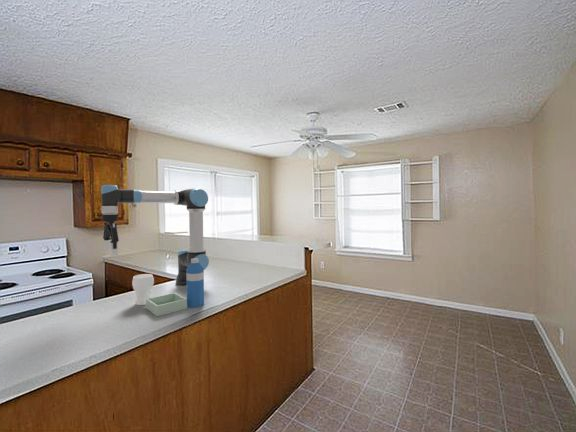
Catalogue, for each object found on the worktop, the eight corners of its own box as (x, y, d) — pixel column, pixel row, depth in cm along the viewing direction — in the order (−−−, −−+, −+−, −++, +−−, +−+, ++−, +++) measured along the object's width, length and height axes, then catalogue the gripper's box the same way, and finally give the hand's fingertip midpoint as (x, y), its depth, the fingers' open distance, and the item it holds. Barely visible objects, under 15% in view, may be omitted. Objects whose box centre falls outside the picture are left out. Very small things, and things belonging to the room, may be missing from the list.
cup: (143, 307, 153) (143, 279, 152) (128, 304, 156) (127, 277, 156) (158, 300, 163) (158, 274, 162) (143, 298, 166) (143, 273, 166)
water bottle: (199, 300, 164) (198, 256, 163) (207, 304, 157) (207, 258, 156) (183, 304, 157) (182, 258, 156) (191, 308, 150) (190, 261, 149)
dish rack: (174, 301, 162) (174, 292, 162) (187, 308, 151) (186, 298, 151) (146, 308, 151) (145, 298, 151) (157, 316, 140) (157, 306, 140)
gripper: (96, 213, 161) (97, 251, 161) (108, 214, 143) (109, 257, 144) (111, 213, 166) (112, 250, 167) (124, 214, 148) (125, 255, 149)
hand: (110, 253), depth 155 cm, fingers open, 13 cm apart
